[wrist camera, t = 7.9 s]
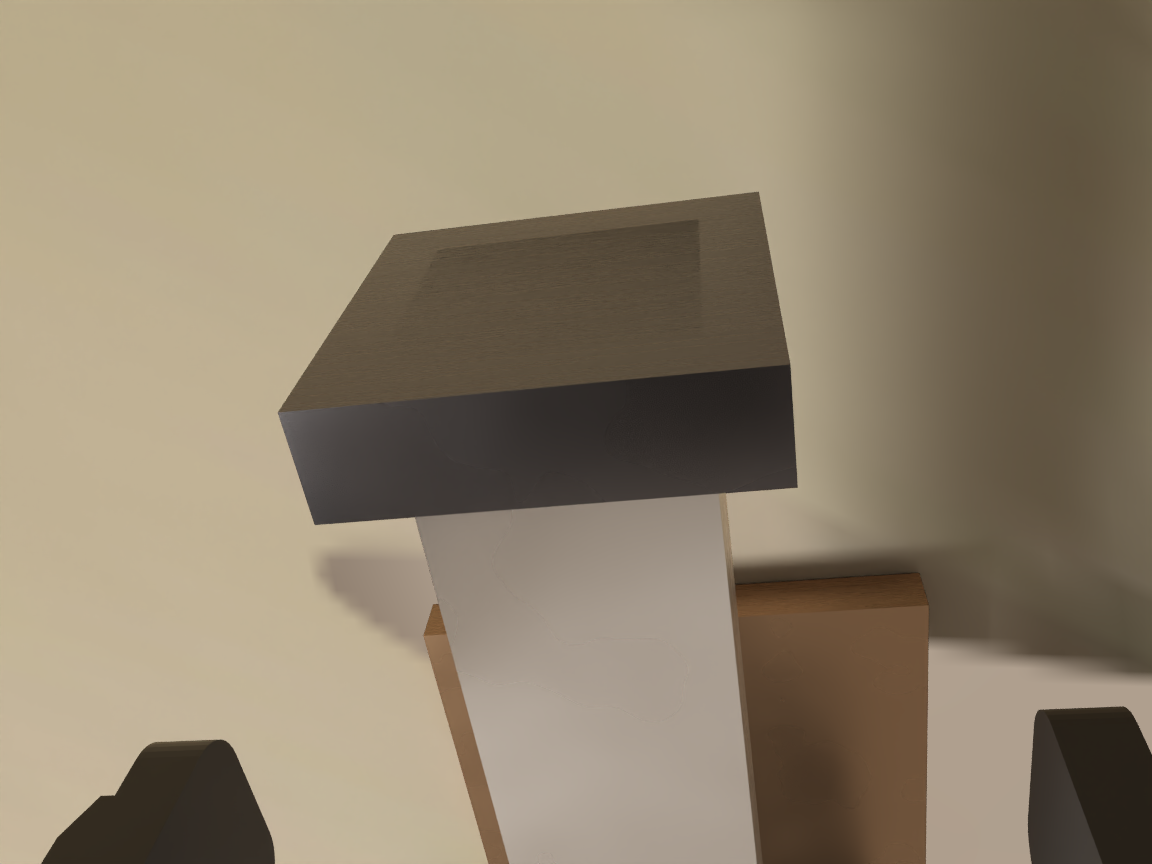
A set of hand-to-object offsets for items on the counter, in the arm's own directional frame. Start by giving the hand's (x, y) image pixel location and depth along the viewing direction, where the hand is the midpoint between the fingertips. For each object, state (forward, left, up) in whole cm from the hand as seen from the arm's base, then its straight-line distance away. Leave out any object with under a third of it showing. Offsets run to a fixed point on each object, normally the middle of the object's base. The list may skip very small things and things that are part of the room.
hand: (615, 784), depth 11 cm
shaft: (0, +8, -5) cm, 9 cm away
